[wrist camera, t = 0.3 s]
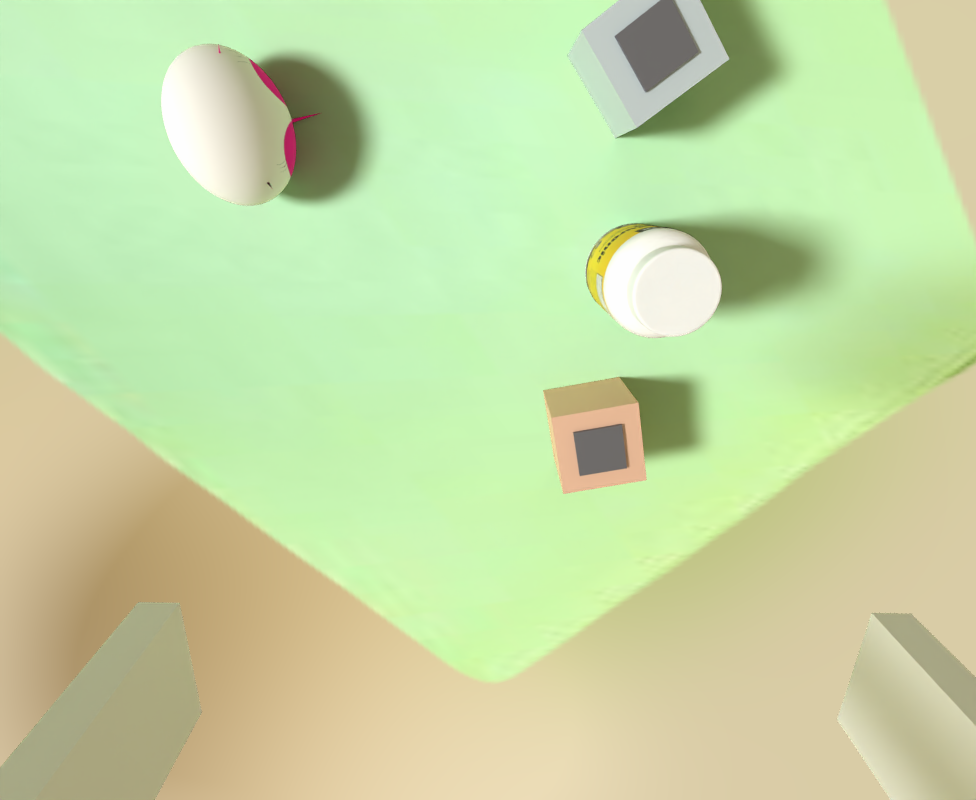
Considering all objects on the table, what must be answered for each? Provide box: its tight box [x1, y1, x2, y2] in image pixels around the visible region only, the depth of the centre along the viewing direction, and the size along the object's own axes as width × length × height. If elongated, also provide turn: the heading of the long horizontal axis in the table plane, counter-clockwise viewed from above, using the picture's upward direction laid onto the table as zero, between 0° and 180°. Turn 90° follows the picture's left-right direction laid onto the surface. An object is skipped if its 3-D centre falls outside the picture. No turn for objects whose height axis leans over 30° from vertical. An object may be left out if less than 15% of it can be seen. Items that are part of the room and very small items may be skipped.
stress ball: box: [161, 44, 320, 205], centre depth 30 cm, size 8×8×7 cm
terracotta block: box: [543, 377, 646, 494], centre depth 35 cm, size 5×5×5 cm
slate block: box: [567, 0, 729, 138], centre depth 28 cm, size 5×5×5 cm
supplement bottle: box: [585, 224, 722, 338], centre depth 30 cm, size 5×5×10 cm
